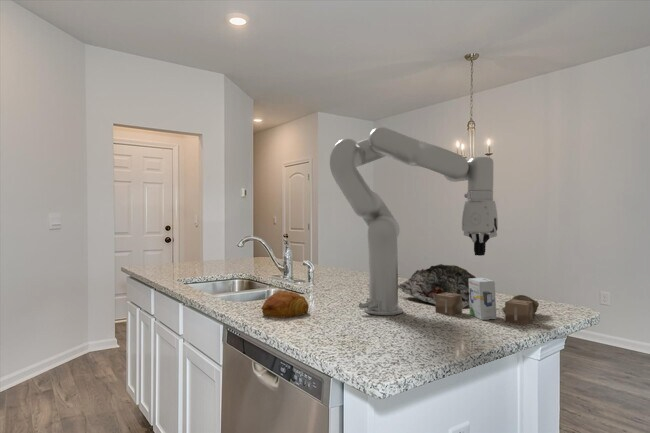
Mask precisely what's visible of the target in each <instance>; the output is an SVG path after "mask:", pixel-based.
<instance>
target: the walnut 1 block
mask: <svg viewBox="0 0 650 433" xmlns="http://www.w3.org/2000/svg"><path fill="white" fill-rule="evenodd" d="M504 307H505V313H504V316H505V317H504V322H505V323H507V322H509V324H514V323H515V325H519V326H520V325H522V326H528V325H530V324H531V323H533V318H534V317H533V315H534V314H533V309H532V302H531V301H522V300H514V299H512V298H511V299H509V300H507V301H505V302H504Z"/></svg>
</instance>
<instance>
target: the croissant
mask: <svg viewBox="0 0 650 433" xmlns="http://www.w3.org/2000/svg"><path fill="white" fill-rule="evenodd" d="M309 307H310V306H309V304H308V301H307V299H306V298H305V297H304V296H303V295H300V294H298V293H297V292H292V291H277V292H275V293H273V294H271V295H270V296H269V297H267V299H265V301H264V302H263V305H262V307H261V308H260V309H261V312H262V314H263V315H265V316H267V317H270V318H271V317H272V318H294V317H299V316H302V315H306V314H307V313H308V311H309Z"/></svg>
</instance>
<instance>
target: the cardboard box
mask: <svg viewBox="0 0 650 433" xmlns="http://www.w3.org/2000/svg"><path fill="white" fill-rule="evenodd" d="M435 313H436V314H440V313H441V315H446V316H450V317H451V316H456V314H457V315H460V314H463V308H462V295H459V294H453V293H447V292H446V293H441V294H436V305H435Z"/></svg>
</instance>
